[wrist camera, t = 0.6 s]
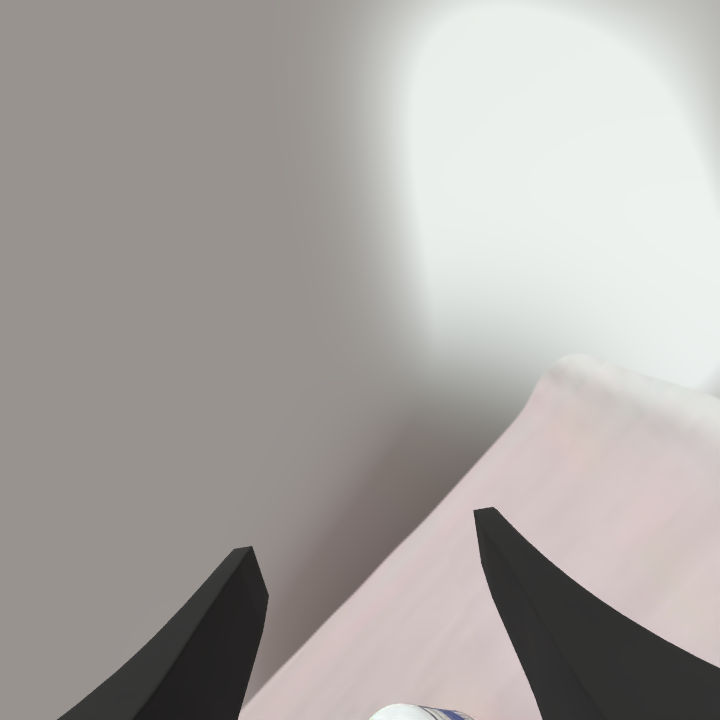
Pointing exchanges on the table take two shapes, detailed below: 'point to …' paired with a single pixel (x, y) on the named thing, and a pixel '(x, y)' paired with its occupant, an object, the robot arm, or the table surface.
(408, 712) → the pill bottle
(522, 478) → the table surface
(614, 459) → the table surface
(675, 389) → the table surface
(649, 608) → the table surface
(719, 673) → the robot arm
